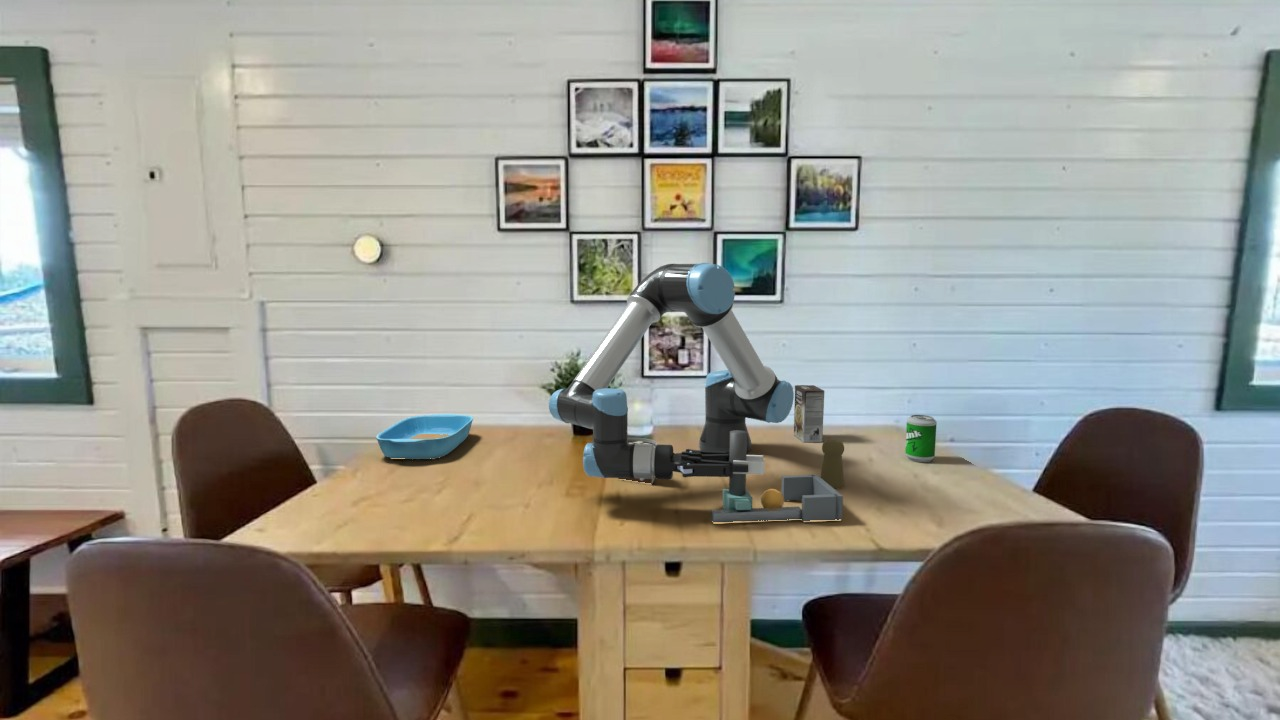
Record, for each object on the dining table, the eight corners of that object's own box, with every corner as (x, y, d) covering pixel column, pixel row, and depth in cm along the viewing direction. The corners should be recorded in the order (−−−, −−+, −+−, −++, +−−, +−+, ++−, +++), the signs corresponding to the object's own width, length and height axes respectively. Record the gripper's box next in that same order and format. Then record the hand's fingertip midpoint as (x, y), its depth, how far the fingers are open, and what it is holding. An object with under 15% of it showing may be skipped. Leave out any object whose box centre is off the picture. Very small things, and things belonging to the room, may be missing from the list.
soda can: (929, 456, 192) (931, 414, 190) (938, 463, 184) (940, 420, 183) (901, 455, 192) (903, 413, 191) (909, 463, 185) (911, 419, 183)
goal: (803, 523, 142) (804, 497, 141) (781, 498, 157) (781, 475, 156) (842, 521, 143) (842, 496, 142) (816, 497, 158) (816, 474, 157)
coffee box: (792, 435, 215) (794, 385, 213) (812, 434, 216) (814, 384, 214) (802, 442, 206) (804, 390, 204) (823, 442, 207) (825, 389, 205)
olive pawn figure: (815, 481, 170) (816, 438, 168) (839, 480, 170) (840, 437, 169) (824, 489, 164) (825, 444, 162) (848, 488, 164) (850, 443, 163)
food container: (667, 478, 172) (667, 440, 171) (657, 486, 167) (657, 446, 165) (623, 472, 177) (623, 435, 176) (612, 479, 172) (612, 440, 170)
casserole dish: (412, 433, 221) (411, 411, 220) (480, 433, 221) (480, 411, 220) (365, 466, 185) (363, 440, 184) (447, 466, 185) (446, 440, 184)
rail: (713, 524, 142) (713, 513, 141) (711, 521, 144) (711, 510, 143) (801, 520, 144) (802, 509, 143) (798, 517, 146) (798, 506, 145)
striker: (731, 520, 142) (733, 439, 140) (722, 506, 151) (723, 429, 148) (755, 519, 143) (756, 438, 141) (744, 505, 151) (746, 428, 149)
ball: (757, 513, 148) (758, 491, 147) (764, 506, 152) (764, 484, 152) (780, 517, 146) (780, 494, 145) (786, 509, 150) (787, 487, 149)
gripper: (658, 467, 158) (761, 470, 155) (650, 490, 141) (765, 494, 138) (658, 435, 157) (761, 437, 154) (650, 455, 140) (766, 458, 137)
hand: (763, 464), depth 146 cm, fingers closed on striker, 4 cm apart
